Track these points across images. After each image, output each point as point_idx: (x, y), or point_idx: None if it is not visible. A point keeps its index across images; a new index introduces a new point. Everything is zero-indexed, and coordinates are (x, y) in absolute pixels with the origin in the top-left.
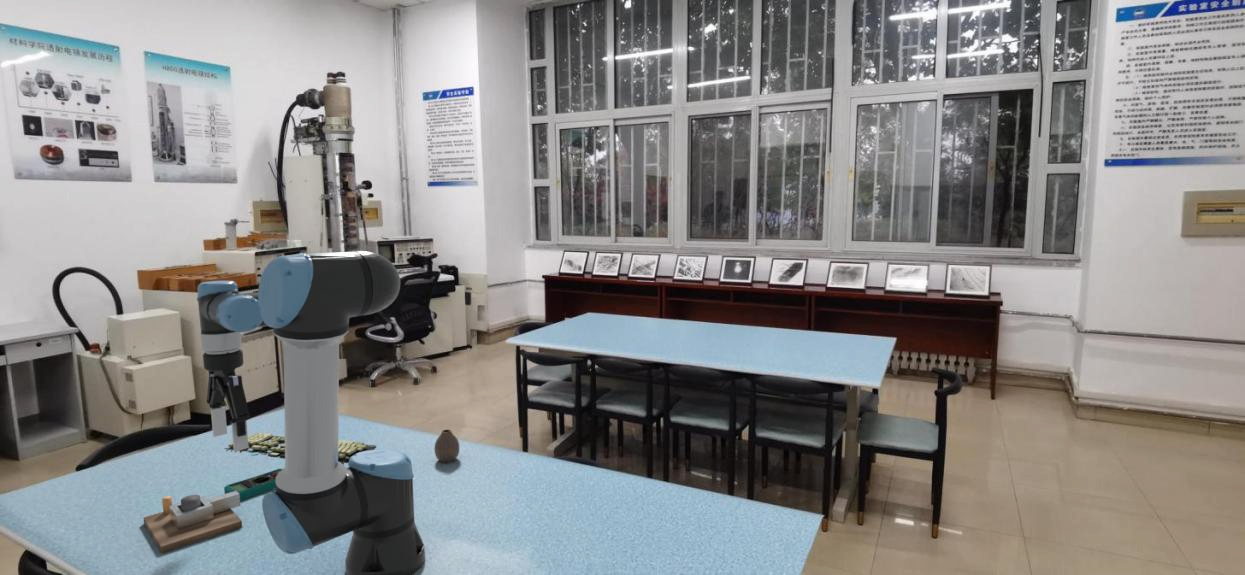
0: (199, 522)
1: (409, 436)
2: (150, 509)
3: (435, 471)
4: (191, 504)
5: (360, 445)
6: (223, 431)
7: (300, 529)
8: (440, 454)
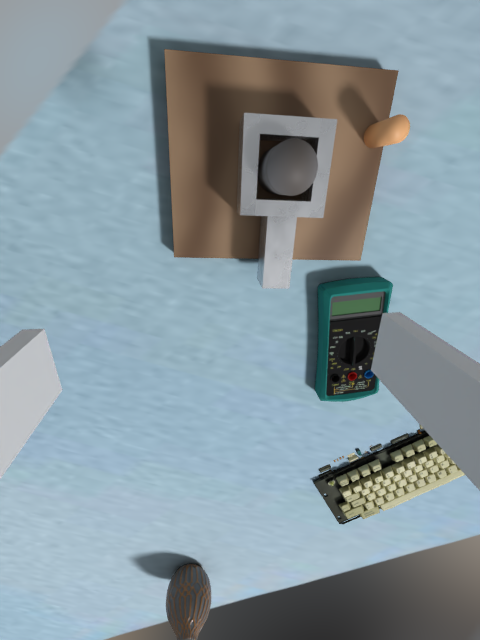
0: None
1: (334, 562)
2: (459, 118)
3: (159, 549)
4: (265, 163)
5: (356, 512)
6: (383, 365)
7: None
8: (177, 583)
